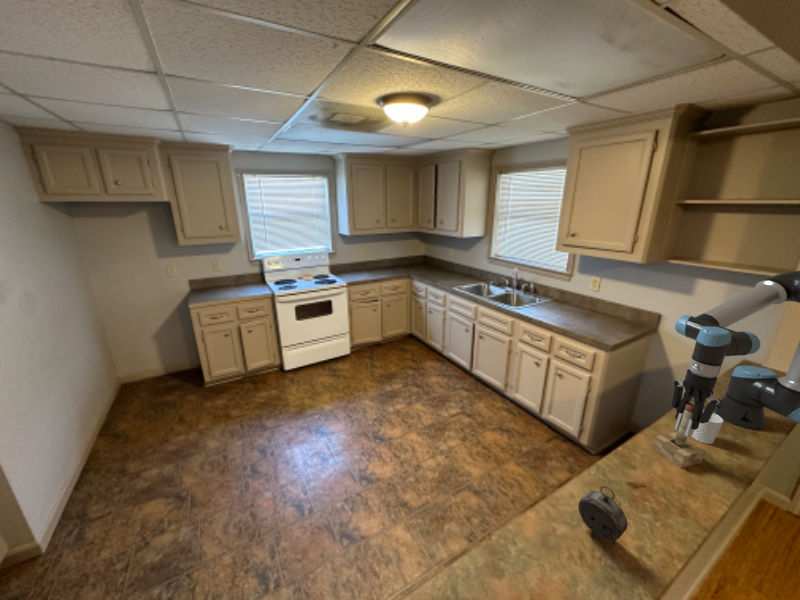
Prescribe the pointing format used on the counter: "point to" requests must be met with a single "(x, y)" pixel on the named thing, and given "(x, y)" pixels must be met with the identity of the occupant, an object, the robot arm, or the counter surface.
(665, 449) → the bead block
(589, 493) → the alarm clock
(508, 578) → the counter surface
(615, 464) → the counter surface
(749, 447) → the counter surface
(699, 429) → the white cup
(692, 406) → the brown-tipped rod
